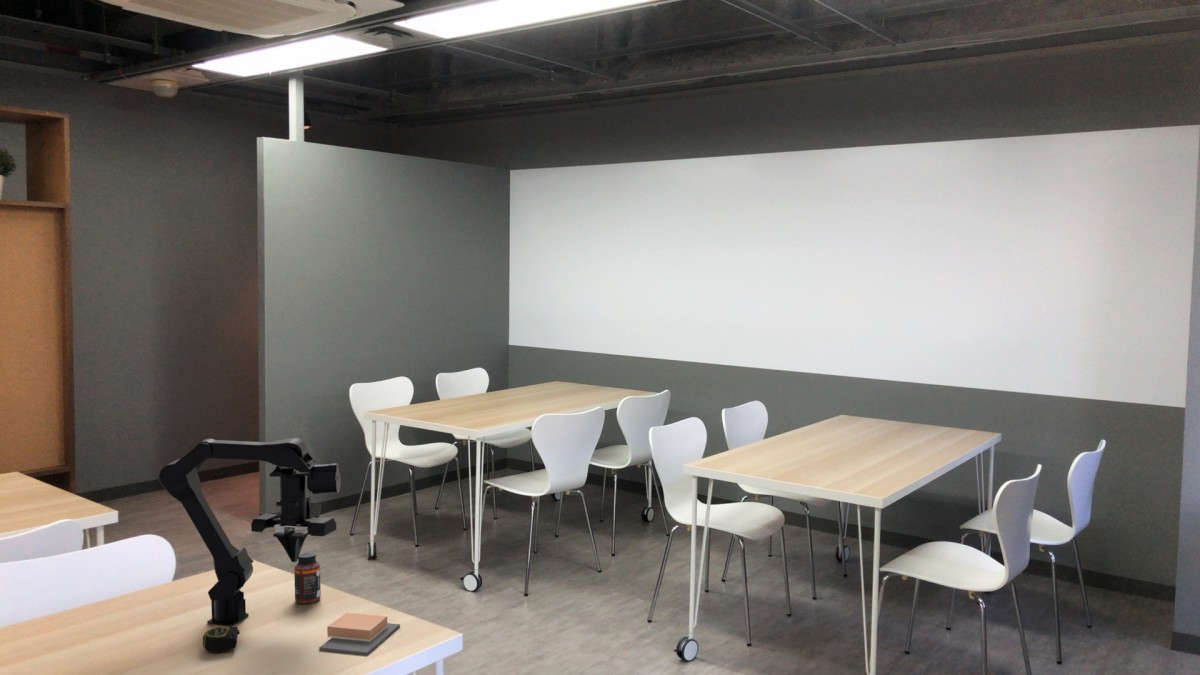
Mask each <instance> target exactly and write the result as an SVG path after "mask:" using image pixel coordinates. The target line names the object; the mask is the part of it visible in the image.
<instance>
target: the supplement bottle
mask: <svg viewBox="0 0 1200 675" xmlns="http://www.w3.org/2000/svg"><path fill="white" fill-rule="evenodd" d="M297 561H298V562H297V563H296V564H295V565H294V568H293V569H294V572H293V574H294V575H293V576H294V600H295V602H296V603H297V604H299V605H309V604H313V603H317V602H318V601H319V600H320V599H321V597H322V596H321V595H322V594H321V593H322V591H321V564H320V562H319V561H318V560H317V558H316V553H315V552H311V551H309V552H308V551H307V552H302V553H300V554H299V557H298V560H297Z"/></svg>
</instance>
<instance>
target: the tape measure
mask: <svg viewBox="0 0 1200 675" xmlns="http://www.w3.org/2000/svg"><path fill="white" fill-rule="evenodd" d="M240 630H241V629H238V626H236V625H232V626H218V627H213V628H211V629H209V630H207V631H206V632H205V633H204V634H203V636H202V646H203V649H204V650H205V651H206V652H209V653H221V652H225V651H230V650H234V649H235V648H236V647H237V643H238V635H240V634H241V633H240Z"/></svg>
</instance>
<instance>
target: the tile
mask: <svg viewBox="0 0 1200 675" xmlns="http://www.w3.org/2000/svg"><path fill="white" fill-rule="evenodd" d="M387 623H388V616H387V615H375V614H365V613H355V612H354V613H353V612H345V613H343V614H342V615H341V616H340V617H338V618H337V619H335V620H333V622H332V623H330V624H328V625H327V627H326V628H327V629H326V630H327V632H326V633H327V638H329V639H331V638H338V639H349V640H359V641H369V642H370V641H371V640H373V639H374V638H375V637H376V636H377V635H379V634H380V633H381V632H382V631H383V630H384V629H386V628H387Z"/></svg>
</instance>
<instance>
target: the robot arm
mask: <svg viewBox="0 0 1200 675" xmlns="http://www.w3.org/2000/svg"><path fill="white" fill-rule="evenodd" d="M209 459H219V460H240V461H241V460H242V461H259V462H260V461H261V462H264V463H269V464H270V465H272V466H273V465H274V466H276V467H275V468H274V469H273V471H272V472H270V473H269V477H270V478H273V477H274V478H275V477H278V479H279V480H278V481H279V482H278V484H279V485H278V486H279V500H276V502H275V503H276V507H279V514H278V513H276V514H275V513H263V514H262V515H261V514H260V515H259V516H256V517H254V518H253V519H252V520H251V522H250V531H251V532H253V533H263V532H264V531H265V530H266V529H267V528H274V533H273V534H272V535H273V537H275V538H276V539H277V540H278V542H279V543H280V544H281V546H282V548H283V549H284V551H285V553H286V554H287V556H288V558H289V560H290V561H291V563H296V562H297V561H298V557H299V555H300V554H301V552H302V551H301V550H302V548H303V546H304V543H305V541H306V539H307V537H308V535H310V536H311V537H325V536H327V535H329V534H331V533H332V532H335V531H337V522H336V519H335V518H334V517H320V515H321V509H322V504H320V503H315V502H311V498H310V496H308V495H307V490H308V491H309V492H312V494H313V495H325V494H328V495H329V494H339V493H340V490H341V484H342V483H341V481H342V480H341V477H342V476H341V473H340V469H339V463H338V462H337V463H336V462H335V463H329V464H323V463H322V464H318V463H317V461H316V460H315V459H314V457H313V456H312V455H311V454H310V453H309V451H308V446H307V445H306V443H305V442H304V441H303V439H301V438H297V437H291V438H283V439H277V440H272V441H264V442H263V441H249V440H248V441H243V440H242V441H241V440H225V439H222V440H221V439H220V440H219V439H213V438H205V439H204V440H202V441H200V442H198V443H197V444H196V445H195V447H194V448H192V449H191V450H190V451H188V453H186V454H185V455H184V456H183V457H181V458H178V459H175V460H174V461H172V462H170V463H168V464H166V465H165V466H164V467H162V469H161V470H160V472H159V475H158V481H159V484H160V485H161V487H163V489H164V490H165V491H166V492H167V493H168V495H170V496H171V497H172V498H173V499H175V500H176V501H178V503H179V502H180V504H181V505H182V507H183V508H184V510H185V512H186V514H187V515H188V517H189V519H190V521H191V522H192V524H193V525H194V527H195V529H196V530H197V532H198V534H199V536H200V537H201V539H202V541H203V542H204V544H205V546H206V548H207V550H208V551H209V553H210V555H211V556H212V559H213V568H214V572H215V575H216V578H217V581H216V583H215V584H214V585H213V586H212V587H211V588H210V589H209V590H208V591H207V594H208V598H210V601H211V604H210V607H211V618H210V619H208V620H207V621H206V624H207V625H217V626H218V625H219V626H225V627H232V626H235V625H236V624H237V623H239V622H240V621H242V620H244V619H246V618H247V617H249V613H248V612H247V610H246V607H247V605H246V599H245V594H244V593H245V592H244V591H242V590H241V589H242V588H243V587H244V585H245V584H246V583H247V582H248V581H249V579H251V577H252V574H253V571H254V566H253V563H254V560H253V559H252V557H250V556H249V554H248V551H247V549H246V547H245V546H244V547H242V548H240V549H238V548H236V547H235V546H234V545H233V544H232V543H231V541H230V539H229V538H228V535H227V534H226V532H225V531H224V529H223V526H222V525H221V524H220V521H219V520H218V518H217V517H216V515H215V514H214V511H213V510H212V508H211V507H210V504H209V503H208V501H207V499H206V498H205V496H204V495H203V492H202V486H201V481H200V480H201V479H200V476H199V474H198V471H197V470H198V469H199V468H201V467H202V466H203V464H206V462H207V461H208V460H209ZM313 517H314V519H313ZM315 518H316V519H315ZM311 519H313V520H311ZM308 520H309V521H308ZM310 520H311V521H310Z"/></svg>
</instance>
